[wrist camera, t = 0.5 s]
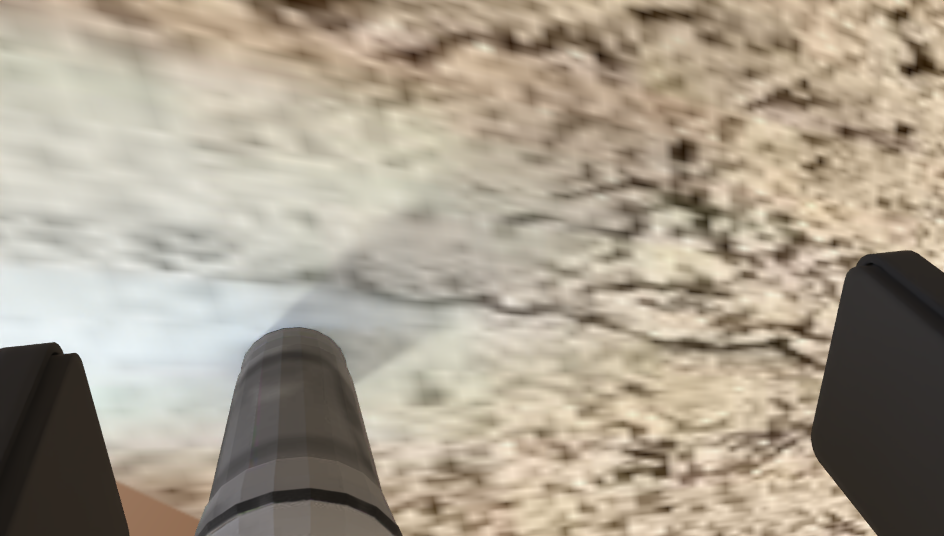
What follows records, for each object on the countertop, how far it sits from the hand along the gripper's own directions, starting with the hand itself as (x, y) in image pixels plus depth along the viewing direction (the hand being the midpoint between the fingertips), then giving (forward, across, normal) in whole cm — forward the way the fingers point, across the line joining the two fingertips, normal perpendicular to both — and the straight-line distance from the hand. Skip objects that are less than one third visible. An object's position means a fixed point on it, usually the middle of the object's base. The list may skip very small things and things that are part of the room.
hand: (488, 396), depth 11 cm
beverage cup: (+24, +4, +16) cm, 29 cm away
